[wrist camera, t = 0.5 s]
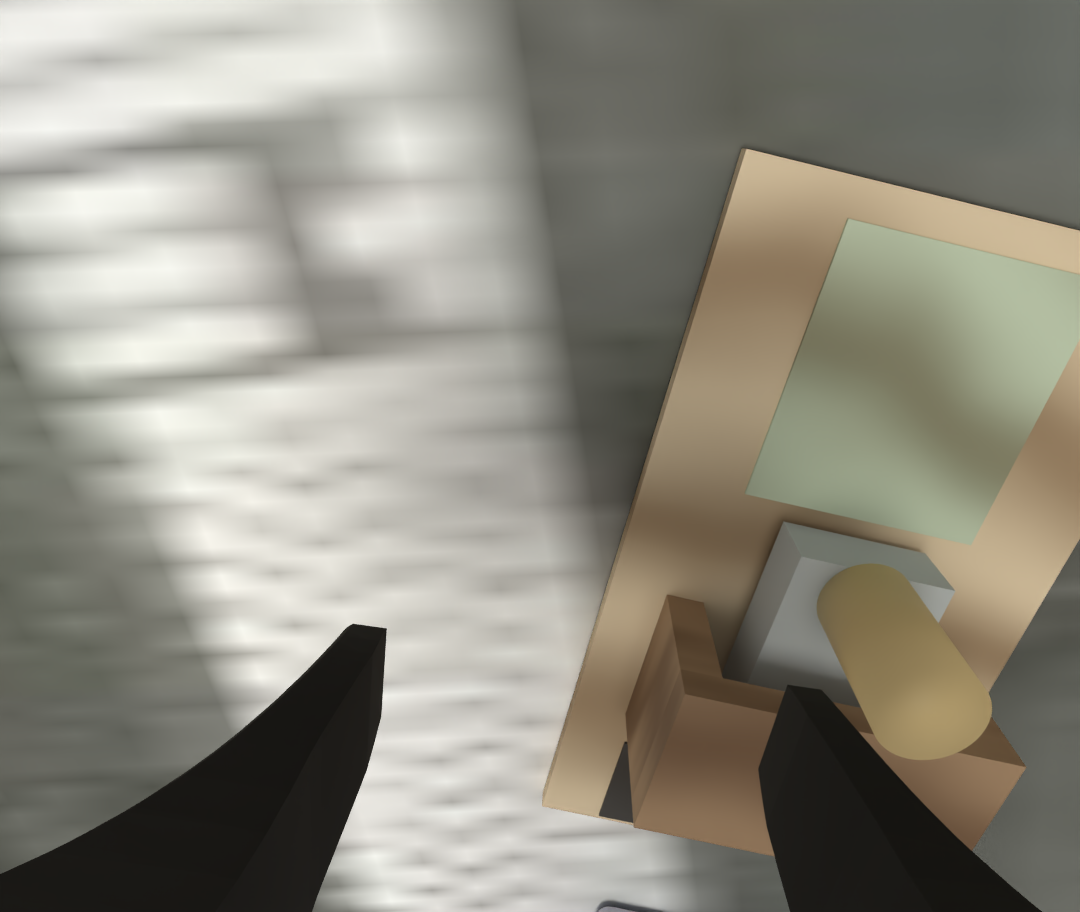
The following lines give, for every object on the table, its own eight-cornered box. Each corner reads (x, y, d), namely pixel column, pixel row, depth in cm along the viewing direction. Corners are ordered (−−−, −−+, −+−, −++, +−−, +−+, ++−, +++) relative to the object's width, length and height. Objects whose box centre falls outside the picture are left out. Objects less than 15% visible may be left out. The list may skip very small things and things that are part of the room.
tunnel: (887, 769, 26) (945, 891, 22) (625, 713, 26) (633, 827, 22) (949, 656, 24) (1026, 767, 20) (667, 594, 24) (684, 693, 20)
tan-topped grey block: (826, 750, 26) (898, 934, 20) (701, 724, 26) (736, 901, 20) (929, 545, 22) (1051, 692, 17) (786, 512, 22) (860, 650, 16)
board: (874, 861, 29) (880, 878, 28) (542, 793, 28) (541, 808, 28) (1220, 265, 20) (1242, 270, 19) (741, 148, 19) (747, 148, 19)
